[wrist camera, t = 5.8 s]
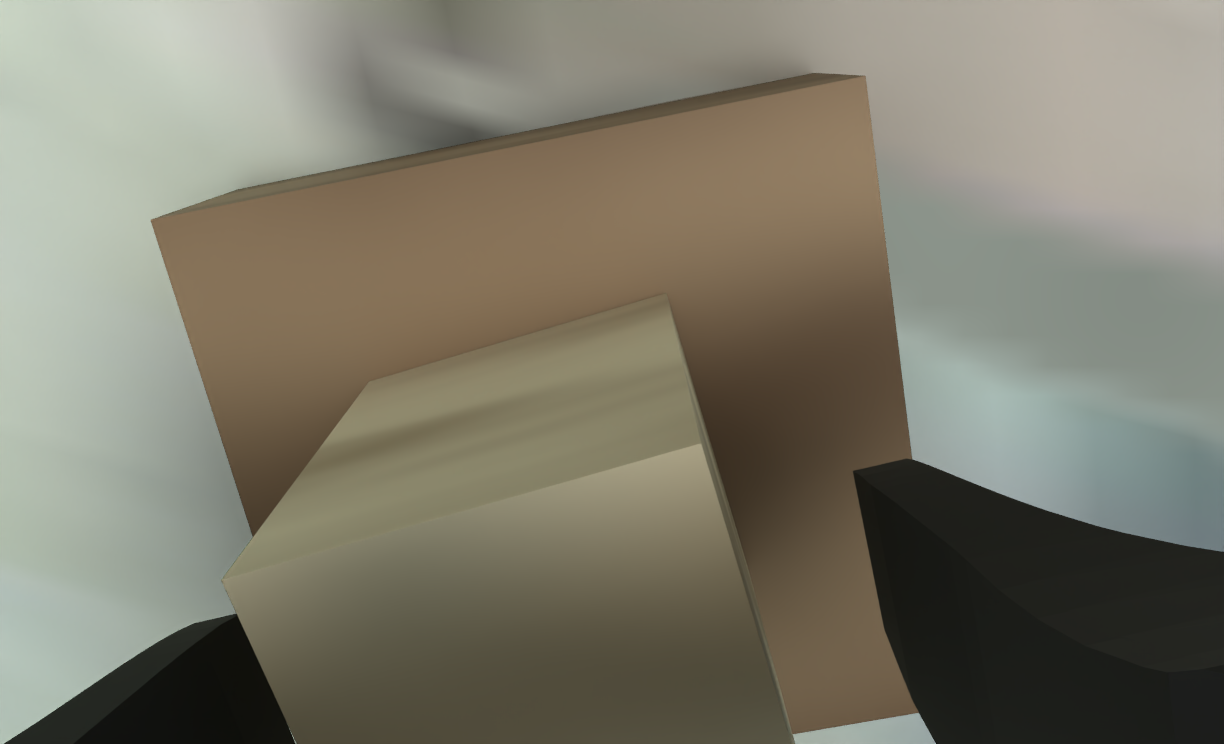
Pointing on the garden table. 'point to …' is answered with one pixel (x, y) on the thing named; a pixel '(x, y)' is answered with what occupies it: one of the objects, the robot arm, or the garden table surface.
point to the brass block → (516, 557)
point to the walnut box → (593, 283)
